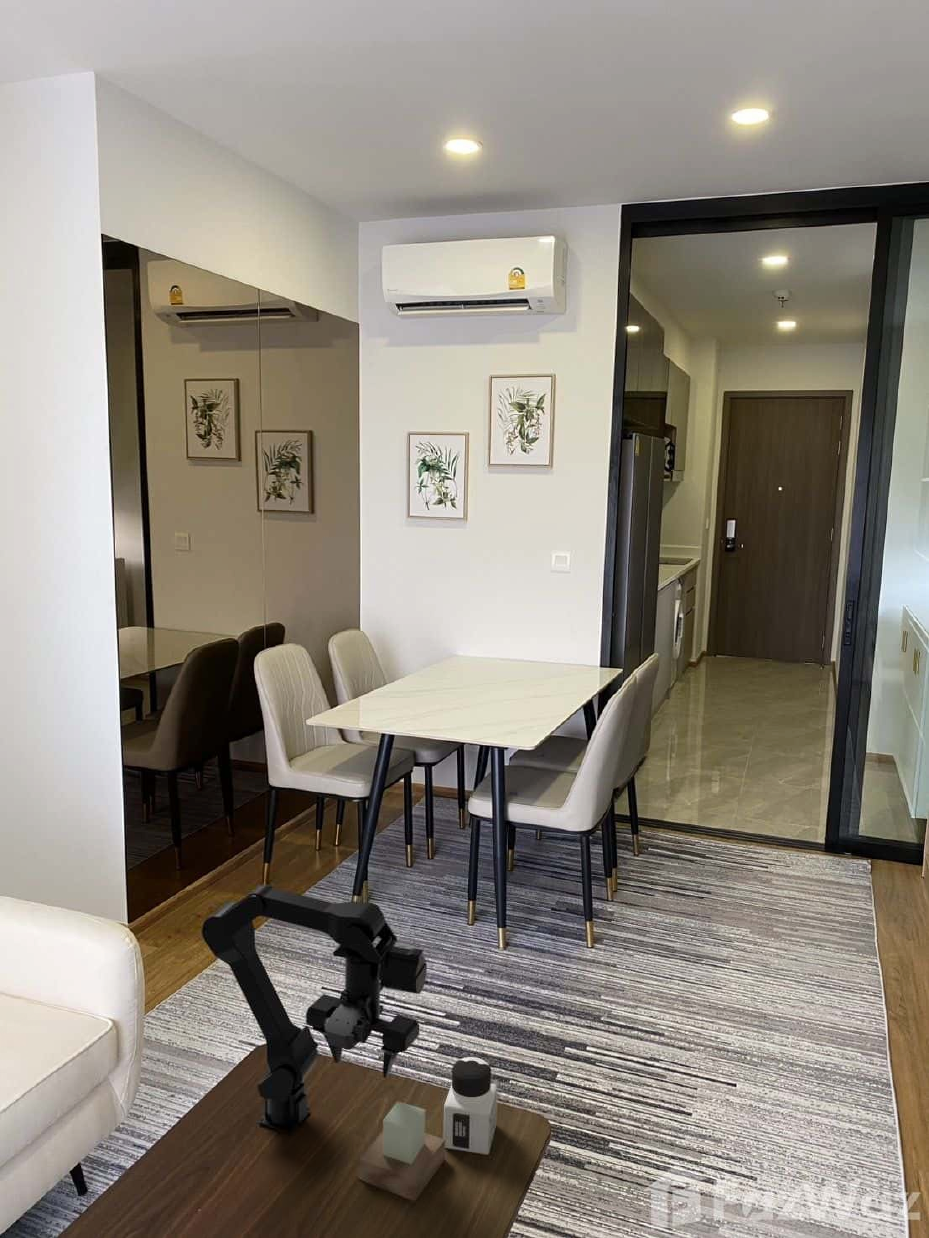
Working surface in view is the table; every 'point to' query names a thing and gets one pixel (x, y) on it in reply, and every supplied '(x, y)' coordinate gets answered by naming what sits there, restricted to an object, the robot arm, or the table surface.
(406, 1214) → the table surface
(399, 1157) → the sage block
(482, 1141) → the container
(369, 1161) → the walnut box
